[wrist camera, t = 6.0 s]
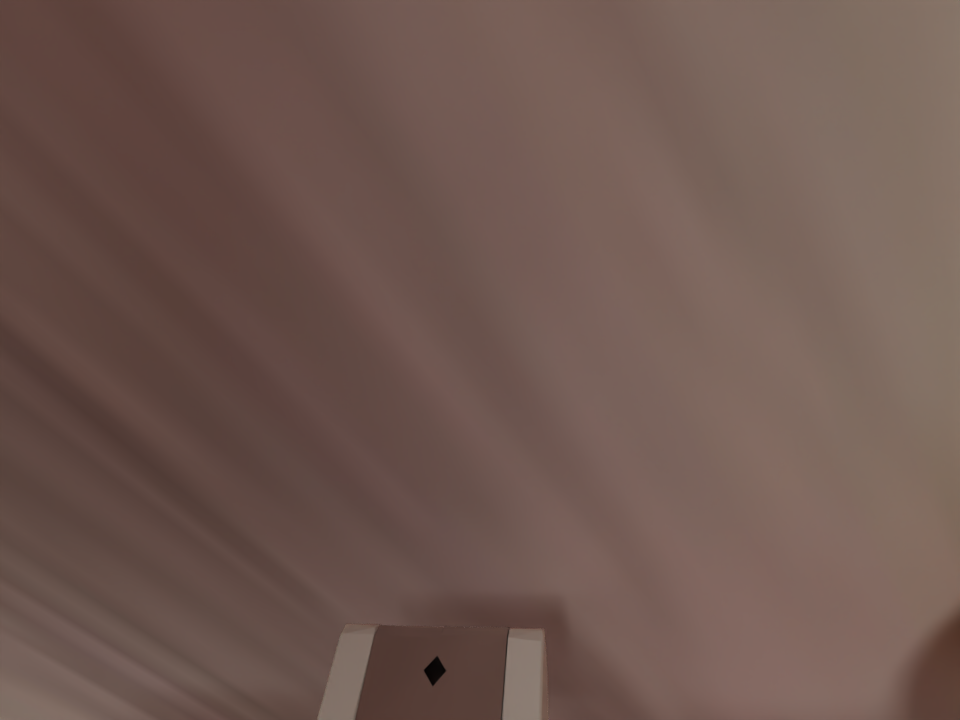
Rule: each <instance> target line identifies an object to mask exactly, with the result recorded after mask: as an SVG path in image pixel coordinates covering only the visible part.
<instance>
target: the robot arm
mask: <svg viewBox="0 0 960 720" xmlns="http://www.w3.org/2000/svg"><path fill="white" fill-rule="evenodd" d="M548 708H549V707H548V673H547V657H546V641H545V630H544V628H511V629H510V628H509V627H450V626H444V627H432V626H396V625H381V624H346V626H345V627H344V629H343V631H342V633H341V635H340V637H339V641H338V645H337V648H336V652H335V655H334V659H333V663H332V666H331V670H330V674H329V677H328V681H327V685H326V688H325V692H324V696H323V699H322V703H321V706H320V710H319V714H318V717H317V720H548Z"/></svg>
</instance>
